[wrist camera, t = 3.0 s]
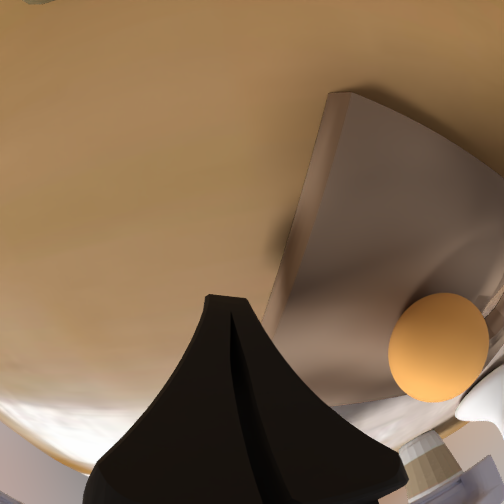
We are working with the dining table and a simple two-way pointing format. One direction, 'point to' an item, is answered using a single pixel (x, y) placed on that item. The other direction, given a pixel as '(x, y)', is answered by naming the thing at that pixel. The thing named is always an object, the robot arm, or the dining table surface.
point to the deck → (381, 246)
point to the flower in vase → (485, 401)
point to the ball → (438, 347)
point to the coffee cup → (427, 464)
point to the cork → (37, 1)
